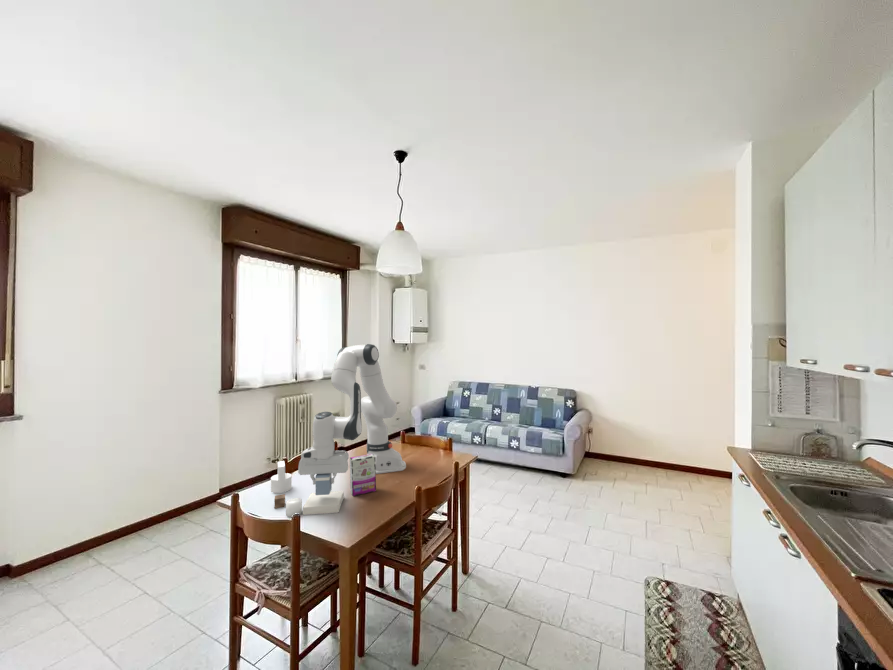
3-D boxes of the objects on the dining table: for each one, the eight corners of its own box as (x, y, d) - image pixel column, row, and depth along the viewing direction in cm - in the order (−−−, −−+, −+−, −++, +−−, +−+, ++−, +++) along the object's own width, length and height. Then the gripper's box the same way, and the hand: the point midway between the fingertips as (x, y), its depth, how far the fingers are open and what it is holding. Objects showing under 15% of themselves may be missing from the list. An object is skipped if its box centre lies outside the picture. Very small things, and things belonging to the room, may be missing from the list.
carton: (331, 489, 158) (331, 470, 158) (329, 494, 153) (329, 475, 153) (318, 489, 157) (318, 471, 158) (315, 495, 152) (315, 476, 152)
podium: (343, 497, 163) (343, 490, 163) (338, 512, 149) (338, 505, 149) (311, 499, 161) (311, 492, 161) (302, 514, 147) (302, 507, 147)
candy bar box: (373, 487, 174) (373, 453, 174) (376, 491, 169) (376, 456, 169) (349, 492, 168) (349, 456, 169) (352, 496, 164) (351, 460, 164)
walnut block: (285, 503, 158) (285, 494, 158) (284, 507, 155) (284, 497, 155) (275, 504, 157) (274, 495, 157) (274, 508, 153) (274, 499, 153)
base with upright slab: (292, 490, 171) (292, 465, 171) (270, 494, 167) (270, 468, 167) (291, 484, 179) (290, 459, 179) (270, 487, 175) (270, 462, 175)
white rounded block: (303, 509, 152) (303, 497, 152) (299, 516, 146) (299, 504, 146) (288, 510, 151) (288, 498, 151) (284, 517, 145) (283, 505, 145)
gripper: (349, 447, 160) (349, 479, 159) (301, 449, 157) (301, 482, 157) (347, 452, 153) (347, 485, 153) (296, 454, 151) (297, 487, 151)
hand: (323, 483), depth 155 cm, fingers closed on carton, 5 cm apart
